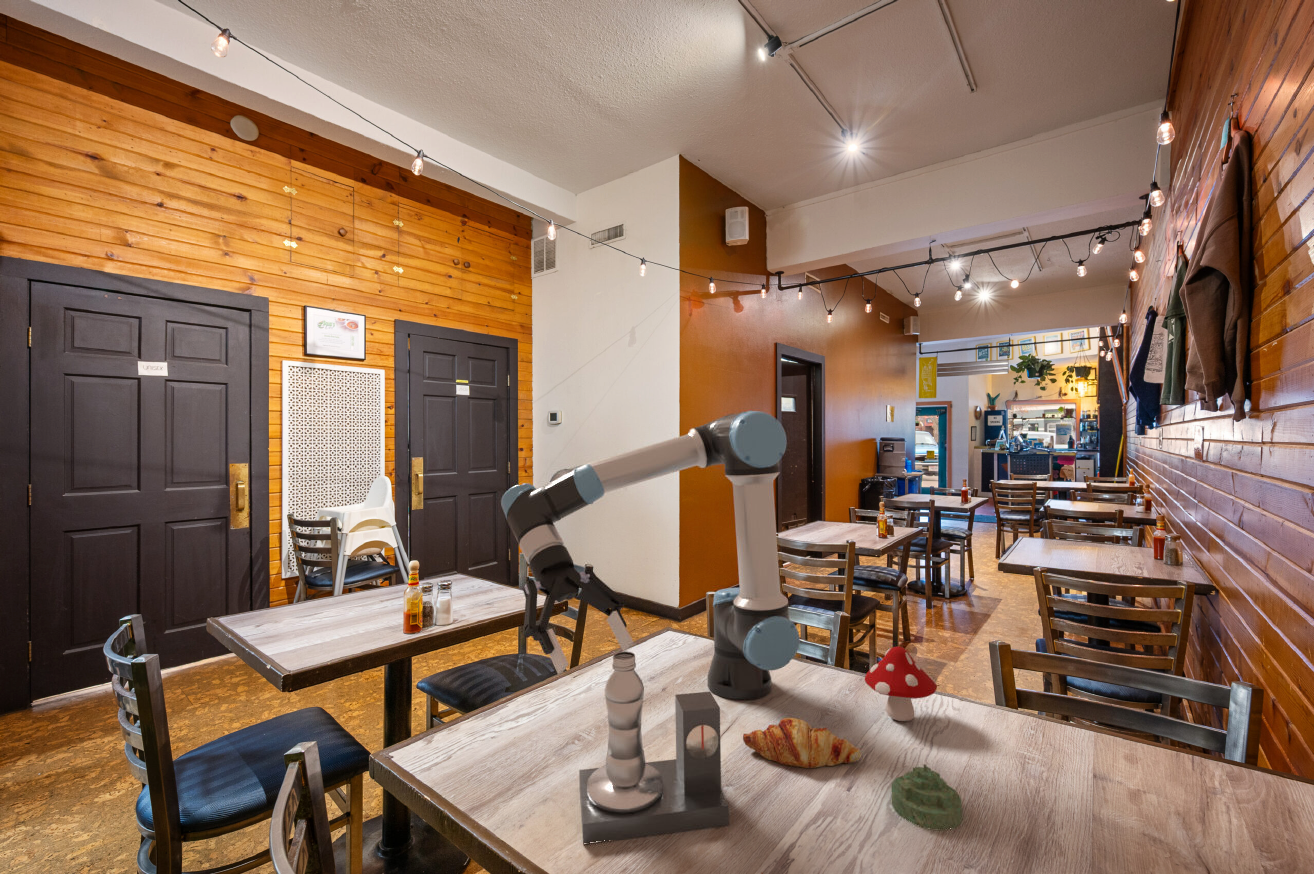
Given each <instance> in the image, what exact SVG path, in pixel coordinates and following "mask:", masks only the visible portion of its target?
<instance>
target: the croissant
mask: <svg viewBox="0 0 1314 874" xmlns="http://www.w3.org/2000/svg"><path fill="white" fill-rule="evenodd" d="M742 740H743V743H744V744H745V746H746V747H748V748H749V749H752V750H753V751H755V752H756V753H758V754H759V755H760V756H761V757H763V758H764V759H766V760H769V761H774V762H777V763H779V764H782V765H783V766H785V765H786V766H789V767H794V766H795V767H799V768H804V769H811V768H812V769H813V768H814V769H815V768H820V767H824V766H827V767H833V766H836V765H840V764H842V763H843V764H851V763H856V762H857V761H858V760H860V759H861V756H862V751H861V750H860V749H859V748H856V747H855V746H854V745H853V744H852V743H851V742H850V741H848V739H846V738H841V739H840V738H839V737H838V736H837V735H836V734H833V732H831V730H829V729H828V728H827V727H820V728H817V727H814V728H813V727H812V726H810V724H809V723H808V722H807V721H805V720H804V719H800V718H795V717H787V718H785V717H784V718H783V719H780V720H779V723H778V724H769V725H768V726H767V727H766V729H764V730H762V729H755V730H753V731H752V732H750V733H743V735H742Z"/></svg>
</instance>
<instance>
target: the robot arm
mask: <svg viewBox="0 0 1314 874" xmlns="http://www.w3.org/2000/svg"><path fill="white" fill-rule="evenodd" d="M787 444H788V443H787V433H786V431H785V429H784V427H783V425H782V423H781V422H780V421H779V420H778V419H777V418H776V417H774V416H773V415H771V414H770V413H767V412H764V411H759V410H748V411H743V412H739V413H731V414H726V415H724V416H721V417H719V418H717V419H714V420H713V421H710V422H708V423H705V424H703V425H699V426H696V427H692V428H690V429H689V431H688V433H687V434H684V435H680V436H678V437H674V438H670V439H667V440H663V441H660V442H657V443H652V444H650V445H647V446H643V447H642V446H641V447H640V448H635V449H632V450H630V451H629V450H628V451H627V452H623V453H619V454H615V455H612V456H609V457H605V458H602V459H597V460H595V461H591V462H588V463H585V464H581V465H578V466H574V467H571V468H563V469H560V470H558V471H556V472H555V473H554V474H553V475H552V476H551V478H550V479H549V480H550V481H549V483H546V484H544V485H543V486H540V487H537V488H536V487H535V486H534V485H533V484H531V483H527V482H525V483H522V484H521V485H520V484H516V485H513V486H512V487H510V488H508V490H506V491H505V493H504V494H503V495H502V497H501V500H500V504H501V508H502V510H503V514H504V515H505V519H506V522H507V524H508V526H509V527H510V529H511V530H510V531H512V533H513V535H514V537H515V539H516V541H517V543H518V546H519V548H520V551H521V553H522V554H523V557H524V558H525V561H526V562H527V564H528V568H529V569H530V572H531V574H532V577H533V578H534V579H533V578H529V579H528V580H527V581H526V583H525V585H524V586H523V589H522V592H523V595H524V597H525V603H524V604H525V606H524V619H523V633H522V634H523V637H524V638H530V637H532V639H533V641H536V642H539V645H540V647H541V649H542V651H543V653H544V654H545V655H546V656H547V655H549V657H550V659H551V662H552V663H553V666H554V669H555V670H556V673H557V675H560V674H562V673H563V672H564V671H565V670H566V668H567V667H568V666H569V662H568V660H567V658H566V655H565V653H564V651H563V649H562V647H561V645H560V642H559V640H558V638H557V636H556V633H555V632H554V630H553V628H549V629H548V626H549V623H550V619H551V615H552V613H553V609H554V606H555V602H557V603H561V602H563V601H565V600H566V601H568V600H569V601H570V600H572V599H576V600H577V601H582V602H584V603H586V604H588V605H589V606H591V607H592V608H595V609H596V610H597V611H599V612H601V613H603V614H604V615H606V616H608V617H607V618H606V621H607V623H608V625H609V627H610V629H611V631H612V632H613V634H614V636H615V639H616V640H617V643H618V644H619V646H620V648H621V649H622V650H621V651H622V652H623V651H627V650H628V649H629V648H630V647H631V646H632V645H633V644H634V640H633V638H632V636H631V635H630V633H629V631H628V629H627V626H628V625H627V622H626V620H625V618H624V616H623V615H622V613H621V610H622V609H623V607H624V606H625V605H626V601H625V600H624V598H622V597H621V596H619V594H617V593H616V592H615V591H614V590H613V589H612V588H611V587H609V586H608V585H607V584H606V583H605V582H604V581H603V580H601V579H600V578H599V576H597V575H596V573H595V572H594V571H593V569H592V568H591V567H588V566H587V567H586V568H585V569H584V570H583V571H580V572H578V570H576V569H575V566H574V560H573V558H572V556H571V554H570V552H569V550H568V549H567V547H566V546H565V542H564V541H563V538H562V537H561V535H560V532H558V530H557V528H556V526H555V523H557V522H559V521H560V520H561V519H562V520H563V519H564V518H565V517H568V516H569V515H571V514H573V513H575V512H577V511H579V510H582V509H583V508H585V507H587V506H589V505H593V504H594V502H596V501H598V500H600V498H603V496H604V495H605V494H606V493H609V492H613V491H617V490H619V489H623V488H627V487H630V486H633V485H637V484H639V483H643V482H646V481H649V480H653V479H656V478H660V477H663V476H666V475H669V474H670V475H671V474H672V473H677V472H679V471H682V470H686V469H689V468H693V467H696V466H697V467H699V468H701V469H703V468H704V469H705V468H707V467H711V466H717V465H723V466H724V475H725V477H726V478H727V480H729V481H730V482H731V484H732V491H733V506H734V507H733V508H734V521H735V524H734V525H735V537H736V551H737V554H736V555H737V568H738V583H739V584H738V585H739V587H729V588H721V589H718V590H717V591H715V592H714V595H713V602H712V607H713V639H714V640H713V641H714V642H713V644H714V647H713V648H714V653H713V655H712V660H711V662H710V666H709V670H708V673H707V688H708V690H709V691H710V692H712V693H713V694H715V695H717V696H719V697H721V698H725V699H731V700H739V701H741V700H742V701H744V700H748V701H749V700H755V699H760V698H763V697H765V696H767V695H768V694H770V693H771V691H772V689H773V688H772V684H773V683H772V682H773V680H772V676H771V673H770V671H777V670H780V669H782V668H784V667H786V666H787V665H789V663H790V662H791V661H792V660H793V659H794V658H795V656H796V654H797V652H798V650H799V647H800V634H799V630H798V628H797V627H796V625H795V623H794V621H792V620H790V611H789V609H790V608H789V600H788V598H787V597H786V595H784V594H783V593H782V592H781V585H780V571H779V569H780V568H779V567H780V566H779V553H778V540H777V539H778V538H777V537H778V536H777V524H776V523H777V522H776V508H775V493H774V482H775V481H774V480H775V479H776V478H777V477H778V475H780V473H781V472H780V471H781V470H780V460H781V459H782V457H783V456H784V454H785V452H786V451H787ZM580 589H581V590H580ZM579 590H580V591H579ZM538 592H541V593H543V594H544V595H545V600H544V603H543V607H542V610H541V613H540V615H539V620H538V622H537V611H538Z"/></svg>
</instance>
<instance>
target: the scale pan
mask: <svg viewBox="0 0 1314 874" xmlns="http://www.w3.org/2000/svg"><path fill="white" fill-rule="evenodd" d="M598 768H599V769H597V770H596V771H595V772H594V773H593V774H592V775H591V776H590V777H589V779H588V783H587V794H588V797H589V799H590V801H591V802H592V803H593V804H594V805H596V806H597V807H599V808H601V809H604V810H607V811H611V812H633V811H638V810H641V809H644V808H646V807H648V806H650V805H652V804H653V803H654V802H656V801H657V800H658V798H659V797H660V796H661V793H662V790H663V780H662V776H661V774H660V773H659V772H658V771H657V770H656V769H655V768H654V767H652V766H650V765H648V764H646V766H645V773H644V776H643V778H642V779H641V781H640V782H639V783H638V784H636V785H634V786H631V787H618V786H615V785H613V784H612V783H611V782H610V780H609V779H608V777H607V773H606V767H605V765H603V766H601V767H598Z"/></svg>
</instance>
